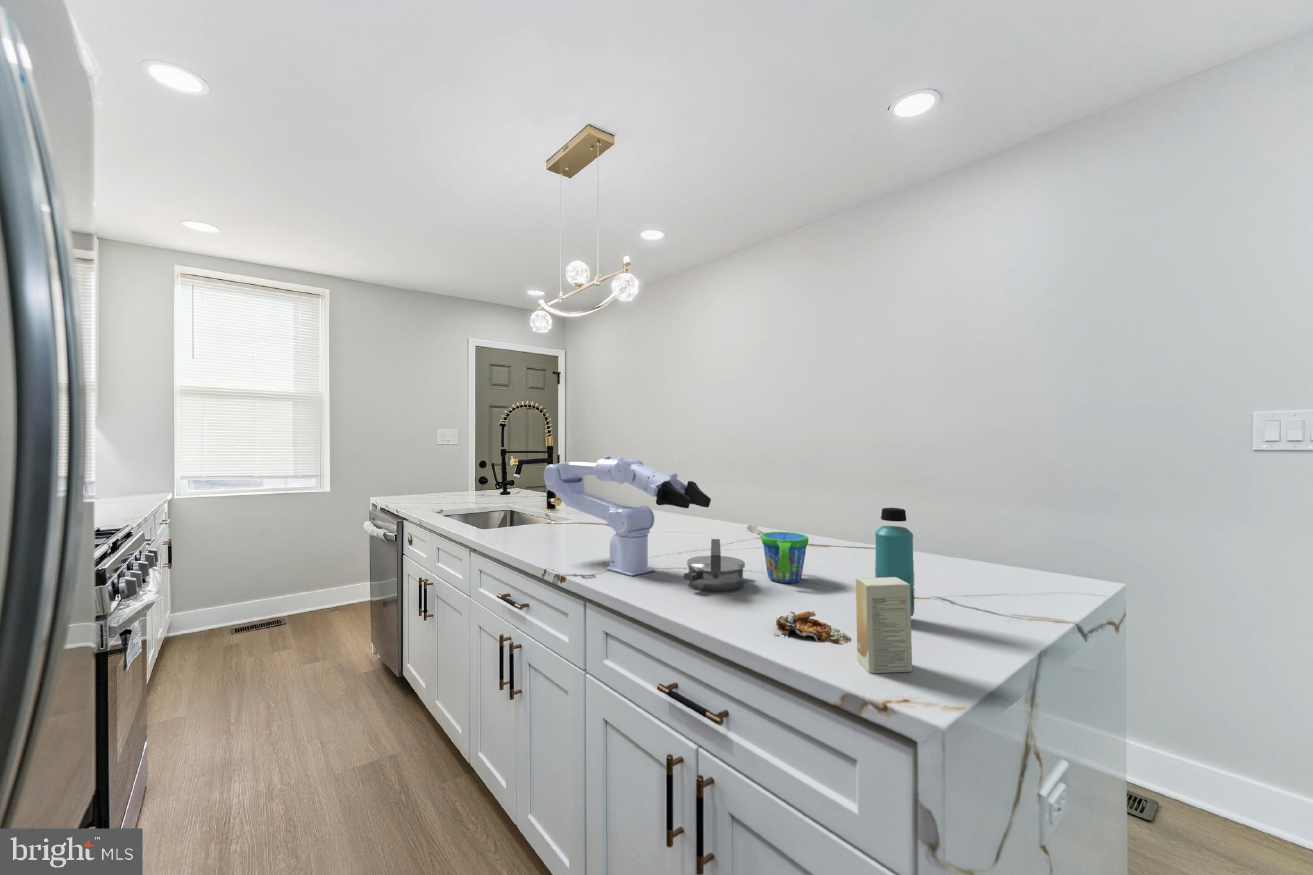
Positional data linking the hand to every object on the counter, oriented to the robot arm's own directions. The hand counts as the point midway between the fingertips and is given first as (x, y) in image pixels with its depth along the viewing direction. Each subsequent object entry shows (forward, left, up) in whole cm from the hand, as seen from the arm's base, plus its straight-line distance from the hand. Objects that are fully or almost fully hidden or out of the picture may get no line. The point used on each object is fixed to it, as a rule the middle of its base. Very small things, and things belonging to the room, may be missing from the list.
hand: (699, 503), depth 118 cm
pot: (+2, +3, -18) cm, 18 cm away
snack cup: (+10, +18, -18) cm, 28 cm away
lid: (+2, +3, -14) cm, 14 cm away
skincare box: (+46, -13, -18) cm, 51 cm away
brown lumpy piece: (+32, -8, -19) cm, 38 cm away
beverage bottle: (+39, +8, -18) cm, 44 cm away
